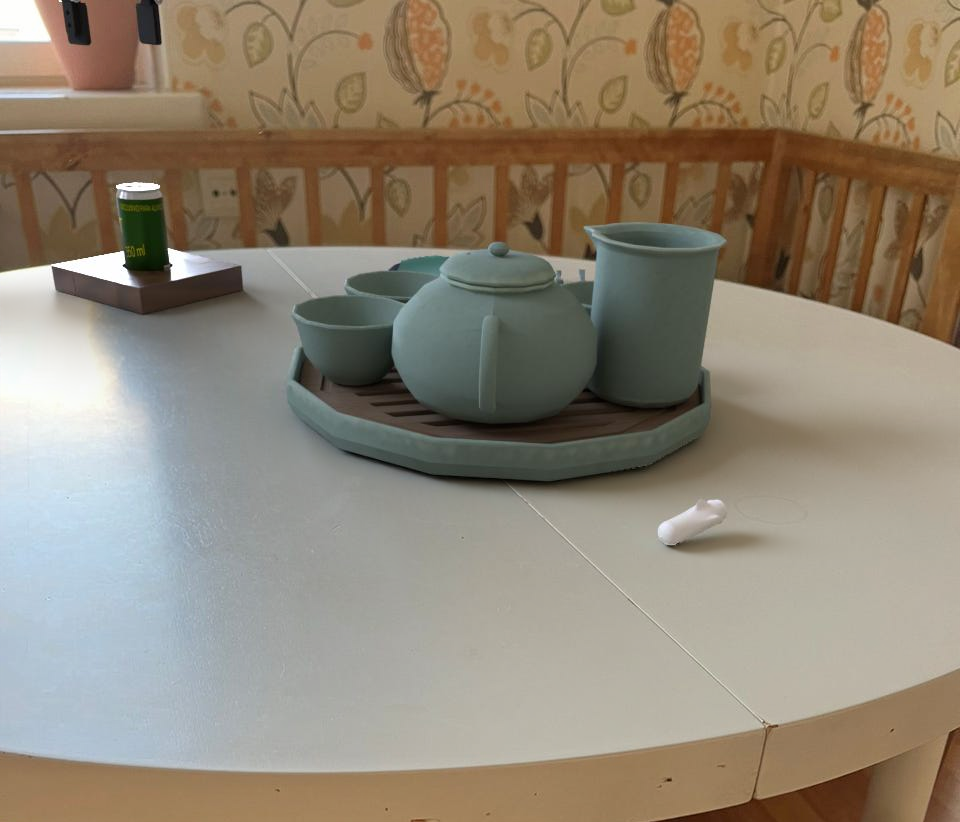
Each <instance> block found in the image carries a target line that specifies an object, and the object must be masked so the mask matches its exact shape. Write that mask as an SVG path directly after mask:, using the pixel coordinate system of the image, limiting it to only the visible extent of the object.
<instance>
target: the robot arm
mask: <svg viewBox="0 0 960 822" xmlns="http://www.w3.org/2000/svg"><path fill="white" fill-rule="evenodd" d="M58 1H59V2H61V5H62V11H63V12H62V13H63V20H64V27H65V32H66V35H67V41H68V44H70V45H77V46H91V44H92V38H91V37H92V36H91V30H90V21H89V20H90V19H89V13H88V7H87V4H86V2H82V1H81V0H58ZM139 2H140V3H135V13H136V22H137V31H138V40H139V42H140V43H141V44H143V45H151V46H161V45H162V43H163V41H162V28H161V18H160V17H161V16H160V6H161V5H162V4H163V2H164V0H139Z"/></svg>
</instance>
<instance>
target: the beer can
mask: <svg viewBox="0 0 960 822" xmlns="http://www.w3.org/2000/svg"><path fill="white" fill-rule="evenodd" d="M160 187H161V186H160V185H158V184H154V183H145V182H144V183H143V182H132V183H122V184H118V185H116V194H115V201H116V208H117V215H118V223H119V230H120V237H121V245H122V252H123V254H124V261H125V269H128V270H134V271H158V270H164V269H169V268H171V267H170V258H169V249H170V248H169V242H168V234H167V233H168V232H167V225H166V224H167V223H166V215H165V213H166V212H165V206H164V205H165V204H164V197H163V193H162V192H161V188H160Z"/></svg>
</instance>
